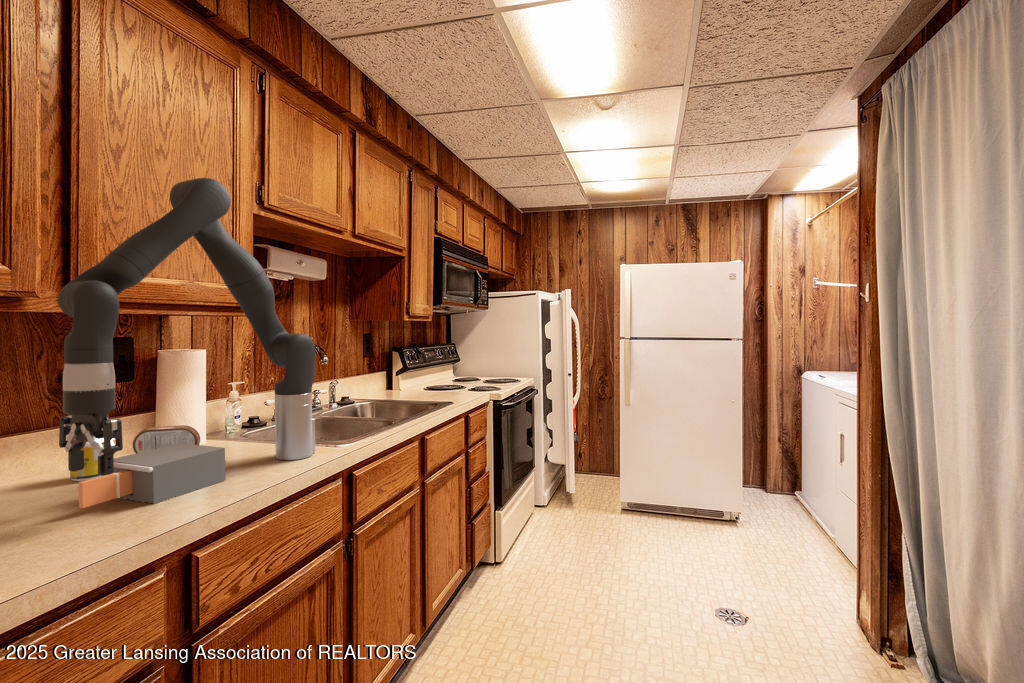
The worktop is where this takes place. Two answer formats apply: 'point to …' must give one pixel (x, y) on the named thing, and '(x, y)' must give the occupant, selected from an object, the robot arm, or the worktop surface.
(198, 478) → the dispenser
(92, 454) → the pill bottle
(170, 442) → the tin
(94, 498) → the ticket
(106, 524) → the worktop surface
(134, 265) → the robot arm
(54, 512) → the worktop surface
